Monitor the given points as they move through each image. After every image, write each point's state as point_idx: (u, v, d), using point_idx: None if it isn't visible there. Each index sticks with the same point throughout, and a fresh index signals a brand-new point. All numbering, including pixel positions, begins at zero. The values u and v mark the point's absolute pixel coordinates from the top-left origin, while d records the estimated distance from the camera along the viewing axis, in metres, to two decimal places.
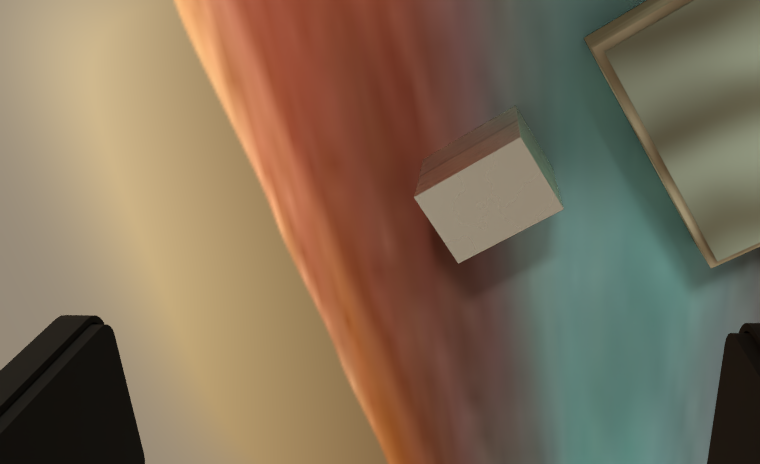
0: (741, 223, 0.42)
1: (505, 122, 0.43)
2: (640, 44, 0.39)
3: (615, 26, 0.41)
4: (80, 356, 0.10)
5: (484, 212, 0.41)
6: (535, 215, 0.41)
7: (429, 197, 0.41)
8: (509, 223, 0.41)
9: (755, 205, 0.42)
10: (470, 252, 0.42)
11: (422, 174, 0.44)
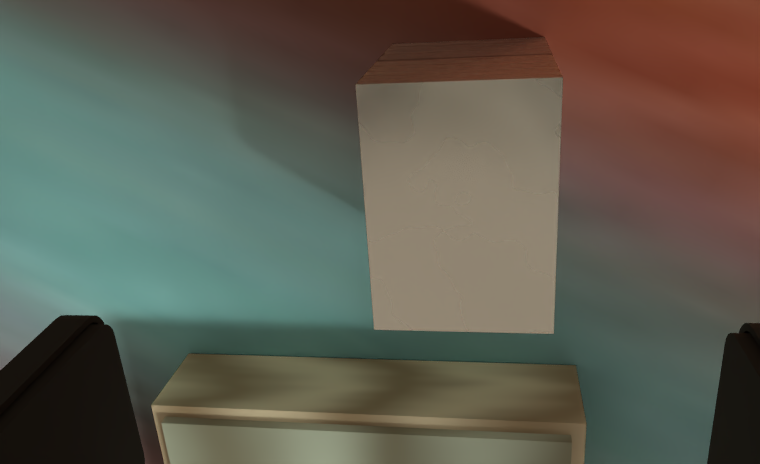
0: None
1: None
2: None
3: None
4: (80, 356, 0.10)
5: (442, 198, 0.18)
6: (386, 281, 0.20)
7: (541, 110, 0.17)
8: (394, 229, 0.19)
9: None
10: (370, 123, 0.18)
11: None
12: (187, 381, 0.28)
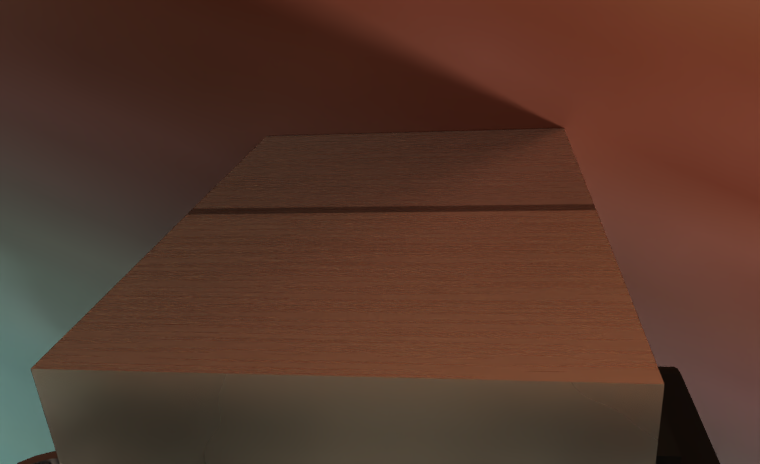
0: None
1: None
2: None
3: None
4: None
5: None
6: None
7: None
8: None
9: None
10: None
11: None
12: None
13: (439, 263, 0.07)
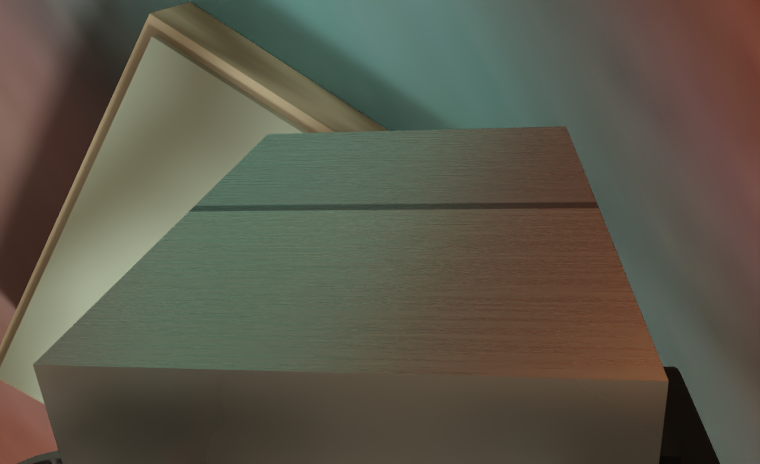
0: (169, 117, 0.25)
1: None
2: None
3: None
4: None
5: None
6: None
7: (594, 462, 0.05)
8: None
9: (174, 153, 0.25)
10: (92, 463, 0.06)
11: None
12: (188, 20, 0.25)
13: (442, 260, 0.07)
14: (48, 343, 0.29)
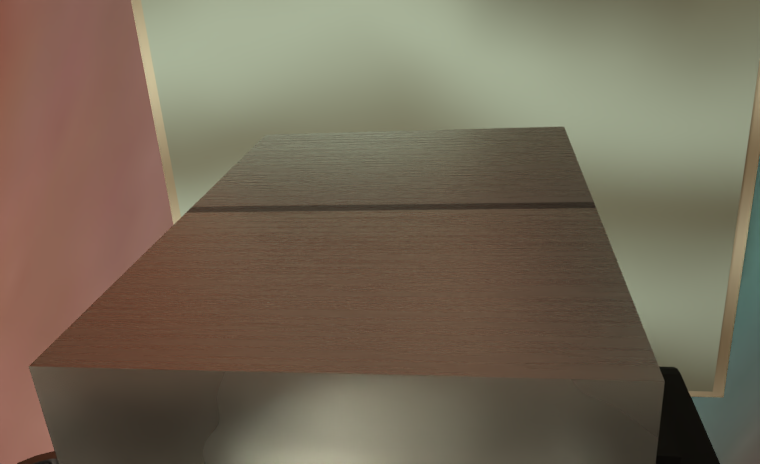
0: None
1: None
2: None
3: None
4: None
5: None
6: None
7: (591, 463, 0.05)
8: None
9: None
10: (90, 463, 0.06)
11: None
12: None
13: (439, 261, 0.07)
14: None
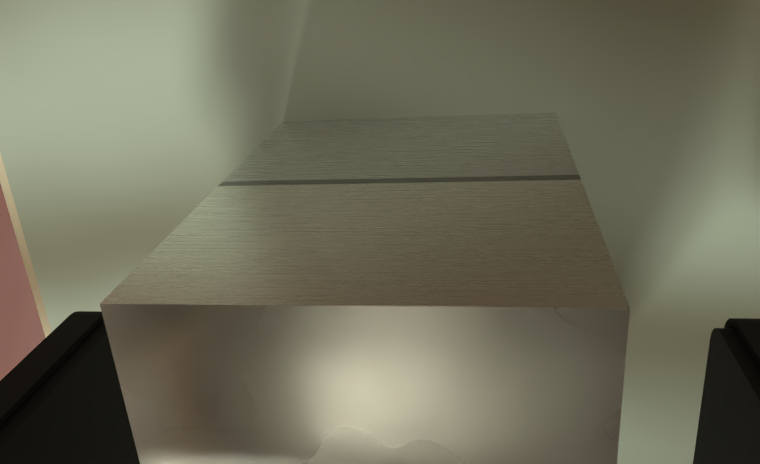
0: None
1: None
2: None
3: None
4: (95, 351, 0.10)
5: None
6: None
7: (570, 380, 0.07)
8: None
9: (730, 7, 0.12)
10: (149, 389, 0.07)
11: None
12: None
13: (443, 222, 0.08)
14: None
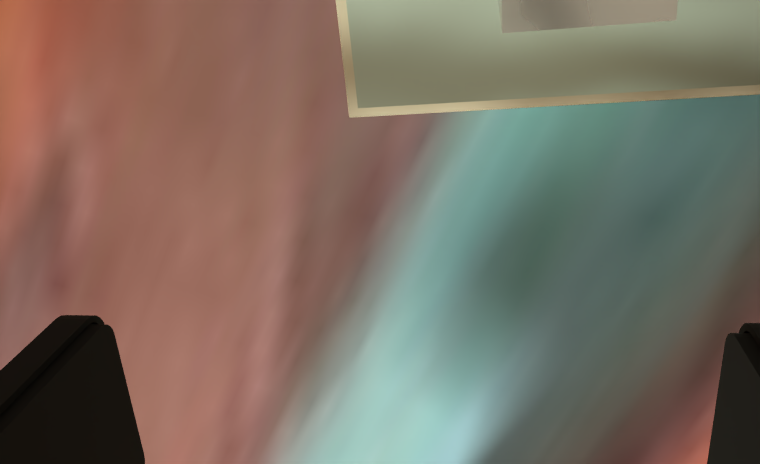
0: None
1: None
2: (738, 70, 0.28)
3: None
4: (80, 356, 0.10)
5: None
6: None
7: None
8: None
9: None
10: None
11: None
12: None
13: None
14: None
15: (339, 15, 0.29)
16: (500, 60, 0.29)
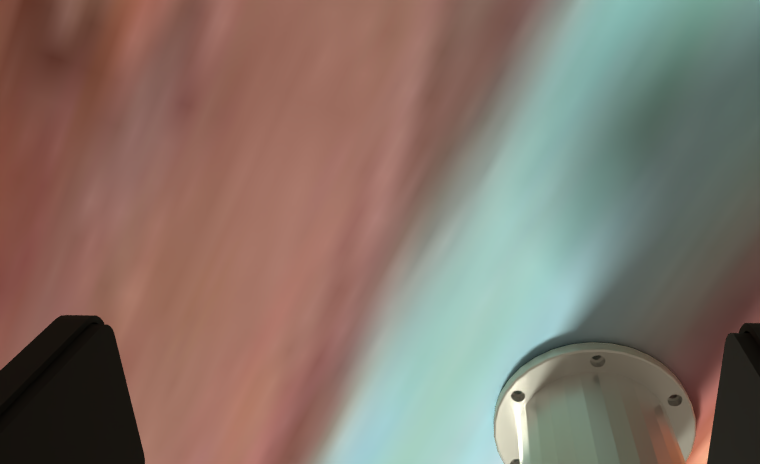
0: None
1: None
2: None
3: None
4: (80, 356, 0.10)
5: None
6: None
7: None
8: None
9: None
10: None
11: None
12: None
13: None
14: None
15: None
16: None
